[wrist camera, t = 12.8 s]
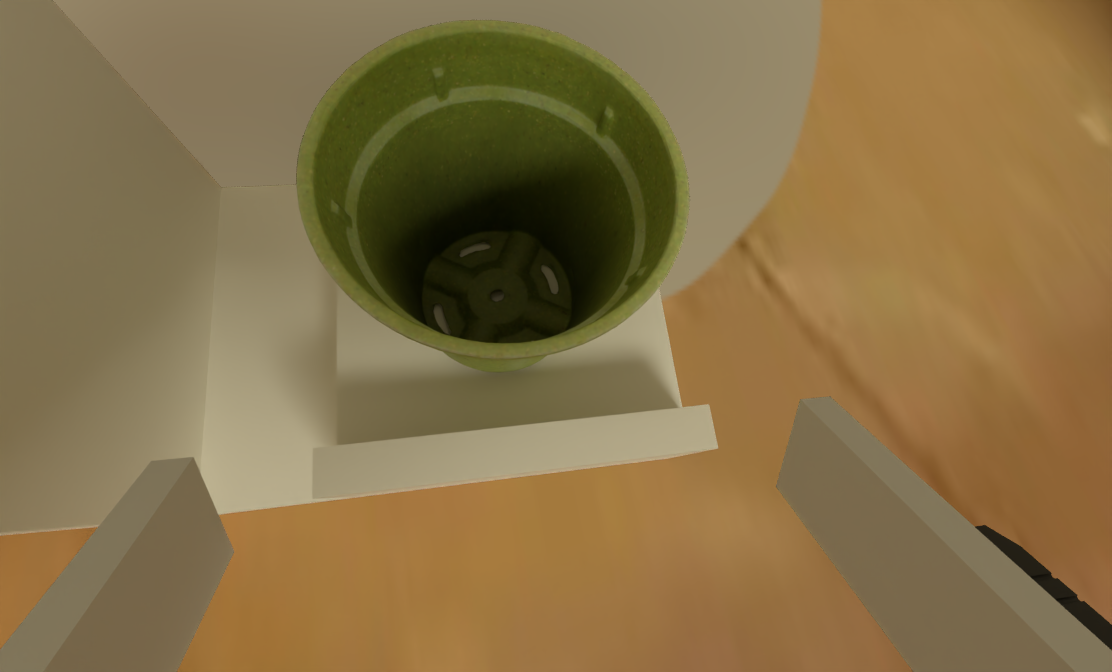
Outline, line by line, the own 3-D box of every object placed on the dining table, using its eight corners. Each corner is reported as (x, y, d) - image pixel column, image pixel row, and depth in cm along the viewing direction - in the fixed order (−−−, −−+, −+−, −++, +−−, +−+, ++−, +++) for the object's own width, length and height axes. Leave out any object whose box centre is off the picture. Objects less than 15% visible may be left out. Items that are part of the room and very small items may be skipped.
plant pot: (551, 169, 23) (583, -18, 14) (654, 354, 20) (760, 261, 12) (344, 244, 20) (241, 74, 12) (436, 459, 18) (386, 431, 10)
